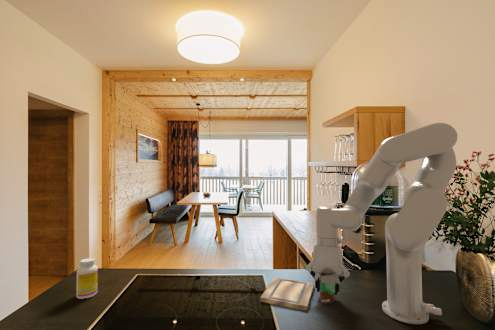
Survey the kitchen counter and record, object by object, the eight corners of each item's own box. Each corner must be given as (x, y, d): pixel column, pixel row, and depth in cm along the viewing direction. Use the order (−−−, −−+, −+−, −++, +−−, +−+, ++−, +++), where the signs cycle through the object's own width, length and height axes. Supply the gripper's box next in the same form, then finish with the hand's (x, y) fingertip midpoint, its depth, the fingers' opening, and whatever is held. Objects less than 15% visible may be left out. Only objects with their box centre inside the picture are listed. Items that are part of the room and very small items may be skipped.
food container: (340, 308, 83) (340, 278, 83) (321, 306, 84) (321, 276, 84) (335, 291, 95) (335, 264, 95) (318, 289, 96) (318, 263, 96)
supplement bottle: (100, 294, 93) (100, 259, 93) (79, 301, 88) (79, 264, 88) (94, 289, 97) (94, 255, 98) (74, 295, 92) (74, 260, 93)
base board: (314, 287, 98) (314, 282, 98) (307, 310, 81) (307, 305, 82) (274, 280, 104) (274, 276, 104) (260, 301, 87) (260, 296, 88)
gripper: (352, 241, 91) (352, 291, 90) (304, 236, 97) (304, 283, 96) (353, 246, 84) (353, 302, 83) (301, 241, 90) (301, 292, 89)
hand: (327, 291), depth 90 cm, fingers closed on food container, 5 cm apart
